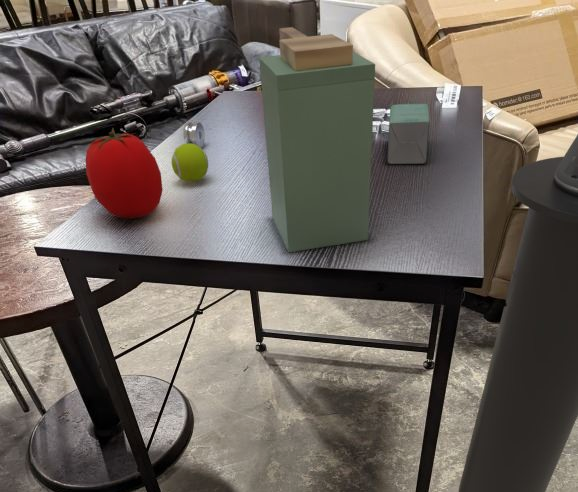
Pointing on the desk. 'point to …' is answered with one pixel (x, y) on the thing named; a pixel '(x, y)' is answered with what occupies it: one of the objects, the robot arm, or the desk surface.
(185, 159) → the tennis ball
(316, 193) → the stand
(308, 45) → the tan wooden slab
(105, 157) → the tomato
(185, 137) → the grooved metal pulley
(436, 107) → the desk surface
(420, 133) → the box
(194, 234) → the desk surface
